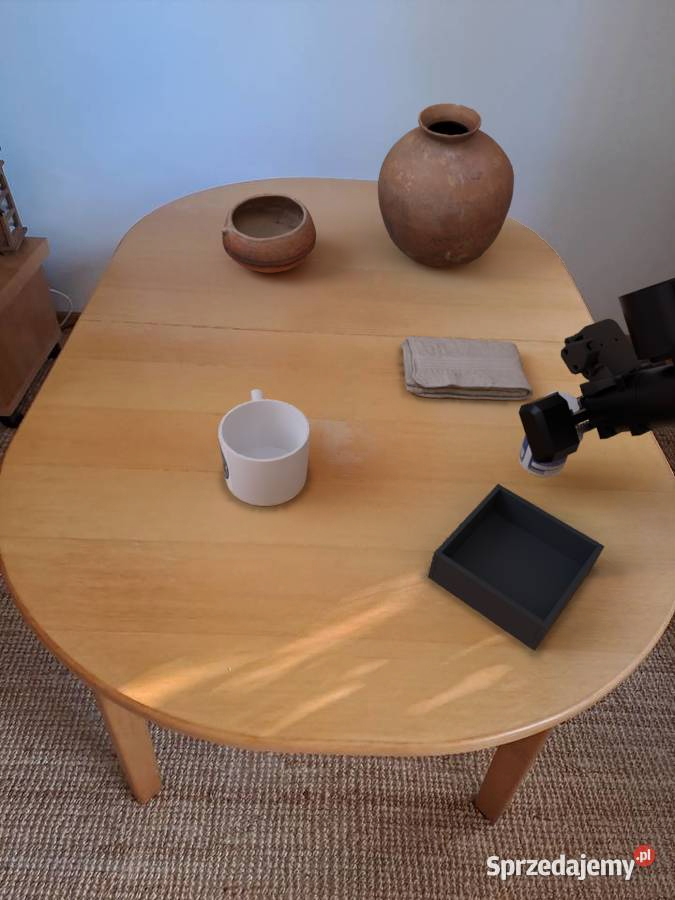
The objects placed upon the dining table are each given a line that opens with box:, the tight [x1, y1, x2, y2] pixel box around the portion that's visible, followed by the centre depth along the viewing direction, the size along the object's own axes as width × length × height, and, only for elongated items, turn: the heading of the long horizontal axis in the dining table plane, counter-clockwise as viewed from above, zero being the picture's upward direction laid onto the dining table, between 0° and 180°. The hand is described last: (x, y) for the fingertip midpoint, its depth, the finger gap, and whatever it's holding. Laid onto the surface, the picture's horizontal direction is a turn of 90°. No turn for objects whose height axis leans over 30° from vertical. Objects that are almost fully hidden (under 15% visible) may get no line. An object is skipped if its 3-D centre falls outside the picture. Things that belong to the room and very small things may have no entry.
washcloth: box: [400, 335, 534, 401], centre depth 97 cm, size 12×18×3 cm, turn 91°
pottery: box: [377, 103, 515, 267], centre depth 114 cm, size 23×23×25 cm
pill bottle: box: [518, 390, 580, 479], centre depth 78 cm, size 5×5×10 cm
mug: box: [217, 388, 311, 507], centre depth 80 cm, size 13×10×8 cm
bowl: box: [221, 192, 317, 273], centre depth 114 cm, size 16×16×10 cm
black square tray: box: [427, 483, 605, 652], centre depth 72 cm, size 13×13×4 cm
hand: (546, 415), depth 77 cm, fingers closed on pill bottle, 5 cm apart
